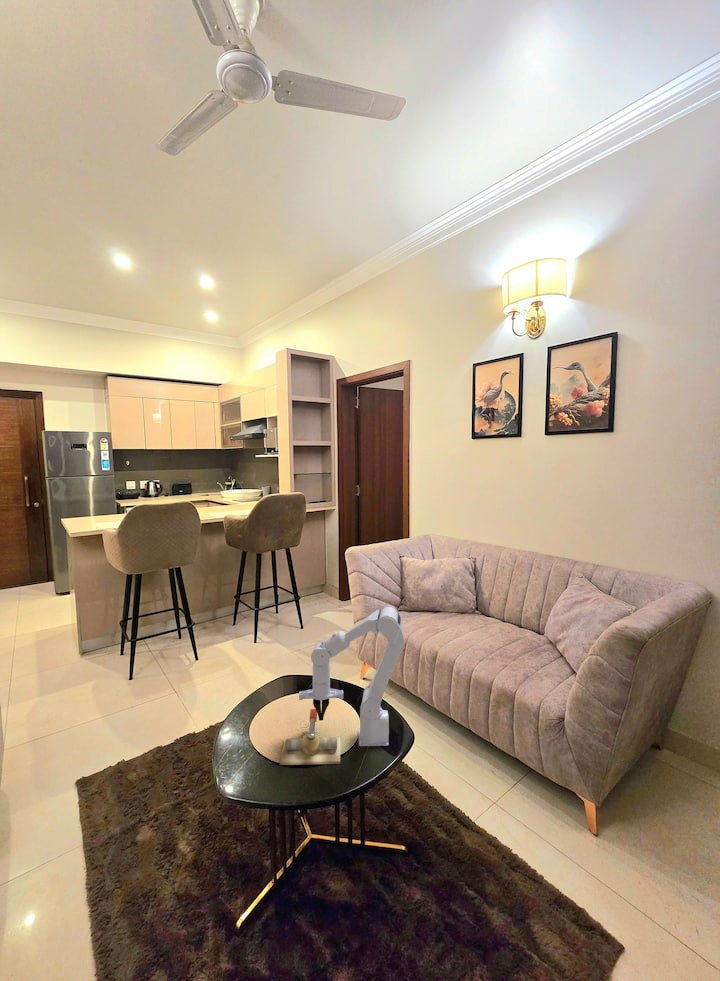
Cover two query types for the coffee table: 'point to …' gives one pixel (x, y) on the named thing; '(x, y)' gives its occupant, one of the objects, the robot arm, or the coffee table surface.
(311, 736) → the valve lever
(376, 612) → the robot arm
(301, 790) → the coffee table surface
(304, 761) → the valve fixture
